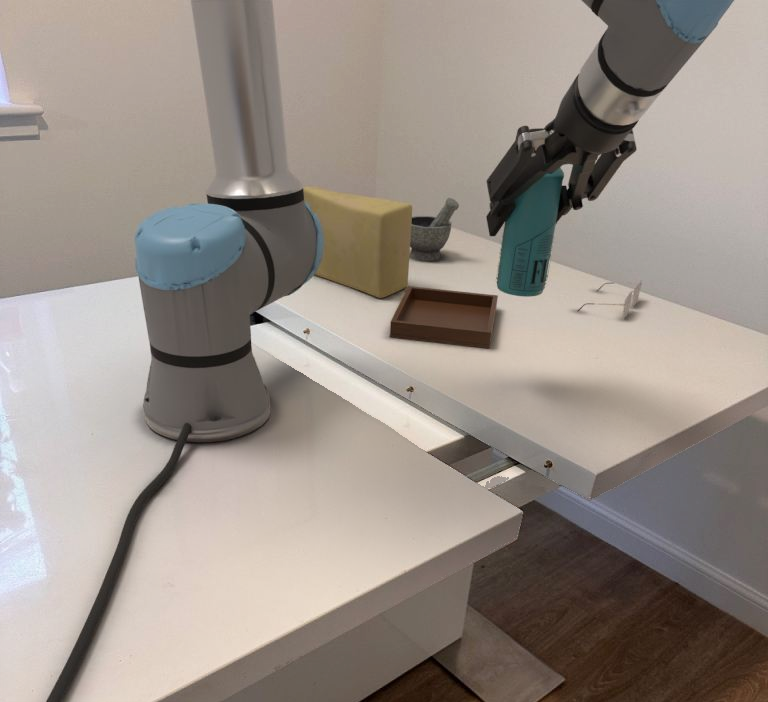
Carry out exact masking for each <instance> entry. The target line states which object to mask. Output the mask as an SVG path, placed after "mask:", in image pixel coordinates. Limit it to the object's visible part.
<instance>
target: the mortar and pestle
mask: <svg viewBox="0 0 768 702" xmlns="http://www.w3.org/2000/svg"><path fill="white" fill-rule="evenodd" d="M459 207H460V205H459V203H458V201H457V200H455V199H454V198H452V197H447V198H446V200H445V203H444V205H443V207H442V208H441V209H440V210H439V212H438V214H437V215H436V216H432V215H415V216H412V223H411V239H410V255H409V258H412V259H414V260H417V261H422V262H433V261H437V260H440V257H441V250H442V249H443V248H444V246H445V245H446V244H447V242H448V240H449V238H450V235H451V230H452V223H453V222H452V221H450V220H451V218H452V217H453V215H454V213H455V211H457V210H458V208H459Z"/></svg>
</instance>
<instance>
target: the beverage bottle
mask: <svg viewBox="0 0 768 702" xmlns="http://www.w3.org/2000/svg"><path fill="white" fill-rule="evenodd" d="M544 128H545V127H544ZM544 128H542V127H541V128H529V131H530V132H536V131H542V130H544ZM535 151H536V150H535ZM564 178H565V172H564V171H563V169H562V168H561V167H560V168H559V169H557V170H556V171H555V172H554V173H553V174H548V173H547V174H546V175H544V176H543V177H542V178H541V179H540V180H538V181H537V182H536V183H535V184H534V185H532V186H531V187H530V188H529V189H528V190H526V191H525V192H524V193H523V194H522V195H520V196H519V197H518V198H517V199H515V200H514V202H515V208H514V209H513V211H512V212H511V214H510V215H509V217H508V218H507V220H506V221H505V223H504V225H503V226H502V228H503V231H502V235H501V236H502V237H501V239H502V240H501V243H500V247H499V251H500V252H499V261H497V262H498V263H497V264H498V267H497V270H496V271H497V275H496V277H495V278H496V279H495V280H496V287H497V289H498V290H499V292H502V293H504V294H507V295H510V296H515V297H523V298H524V297H525V298H526V297H527V298H528V297H530V298H531V297H536V296H540V295H542V294H543V292H544V290H545V288H546V285H547V281H548V277H549V274H548V273H549V272H550V269H549V268H550V265H551V264H550V262H551V260H552V259H551V257H552V249H553V247H554V246H553V243H554V242H555V241H554V238H555V230H556V225H557V224H558V222H559V221H558V220H557V221H558V222H557V223H556V219H557V213H558V207H559V205H560V203H559V200H560V194H561V188H562V186H563V181H564ZM558 214H559V213H558Z"/></svg>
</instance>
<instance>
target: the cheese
mask: <svg viewBox="0 0 768 702" xmlns="http://www.w3.org/2000/svg"><path fill="white" fill-rule="evenodd" d="M303 191H304V201H305V202H307V203H308V204H309V205H310V206H311V210H312V212H313V213H314V214H316V215H317V216H318V218H319V221H320V223H321V226H322V230H323V236H324V251H323V256H322V260H321V263H320V265H319V268H318V270H317V271H316V273H315V274H314V276H318V277H320V278H323V279H326V280H329V281H332V282H335V283H337V284H341V285H344V286H347V287H350V288H352V289H355V290H357V291H361V292H362V293H364V294H368V295H371V296H373V297H376V298H378V299H383V298H386V297H389V296H391V295H393V294H395V293H397V292H399V291H401V290H404V289H405V288H406V287H408V285H409V270H410V269H409V268H410V254H411V247H410V239H411V223H412V217H413V206H412V204H411V203H408V202H401V201H396V200H391V199H384V198H379V197H375V196H374V197H373V196H366V195H359V194H358V195H357V194H351V193H345V192H339V191H334V190H333V191H332V190H328V189H324V188H319V187H315V186H305V187H304V186H303Z"/></svg>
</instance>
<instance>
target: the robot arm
mask: <svg viewBox="0 0 768 702" xmlns="http://www.w3.org/2000/svg"><path fill="white" fill-rule="evenodd" d="M581 1H582V3H583V4H585V6H587V7H588V8H589V9H590V10H591V12H592V13H594V15H595V16H596V17H598V18H599V19H600V20H601V21H602V22H603V23H604V24H605V25H606V26H607V28H606V30H605V31H604V32H603V34H602V36H601V37H600V39H599V40H598V42H597V43H596V45H595V46H594V47H593V50H592V51H591V53H590V54H589V56H588V57H587V59H585V62H584V63H583V65H582V66H581V68H580V69H579V73H577V75H576V76H575V78H574V80H573V81H572V83H571V85H570V86H569V87H568V89H567V91H566V93H565V94H564V96H563V97H562V99H561V101H560V103H559V107H558V110H557V113H556V114H555V115H556V116H555V118H553V119H552V120H551V121H550V122H548V123H547V124H545V126H544V130H542V131H536V132H530V131H529V129H530V127H529V126H528V125H521V126H520V127H518V128H517V130H516V135H515V140H514V142H512V145H511V146H510V147H509V148H508V150H507V151H506V153H505V154H504V155H503V157H502V158H501V160H500V161H499V162H498V164H497V165H496V167H495V168H494V170H493V171H492V172H491V173H490V175H489V176H488V178H487V179H486V185H487V192H488V198H489V201H490V202H489V211H488V213H487V214H486V216H485V217H486V224H487V227H488V228H487V229H488V233H489V234H488V235H489V237H496V236H497V235H498V233H499V231H500V230H501V229H502V228H503V226H504V225H505V221H506V220H507V218H508V217H509V215H510V214H511V212H512V211H513V209H514V208H515V202H514V200H515V199H517V198H518V197H519V196H520V195H522V194H523V193H524V192H525V191H526V190H528V189H529V188H530V187H531V186H532V185H534V184H535V183H536V182H537V181H538V180H540V179H541V178H542V177H543V176H544V175H546V174H547V173H548V174H553V173H554V172H555V171H556V170H557V169H559V168H561V167H562V166H565V165H572V168H571V171H570V176H569V179H568V183H567V185H562V188H561V194H560V200H559V203H560V205H559V207H558V213H559V214H558V213H557V219H556V223H557V224H558V222H559V221H560V219H562V217H563V216H566V215H567V214H569V213H570V211H571V210H573V211H579V210H581V209H582V208H583V207H584V204H583V200H585V199H587V201H589V202H593V201H595V200H597V199H598V198H599V196H600V195H601V194H602V192H603V191H604V190H605V188H606V187H607V185H608V184H609V183H610V181H611V180H612V179H613V177H614V176H615V174H616V173H617V172H618V170H619V168H620V167H621V166H622V164H624V162H625V161H626V160H627V159H628V158H629V157H631V156H632V155H634V153H636V151H637V149H638V148H637V144H636V139H635V135H634V131H633V129H634V128H635V127H636V125H638V122H639V120H640V119H641V118H642V117H643V116H644V115H645V114H646V113H647V112H648V110H649V109H650V108H651V106H652V105H653V104H654V103H655V101H656V100H657V99H658V97H660V95H661V94H662V92H663V91H665V89H666V88H667V87H668V85H669V84H670V83H671V81H673V79H674V78H675V77H676V76H677V74H678V73H679V72H680V71H681V70H682V68H683V67H684V66H685V65H686V64H687V63H688V61H689V60H690V59H691V58H692V56H693V55H695V53H696V51H697V50H698V49H699V48H700V47H701V46H702V44H704V42H705V41H706V40H707V39H708V38H709V36H710V35H711V34H712V33H713V31H714V30H715V29H716V28H717V27H718V25H719V22H720V21H721V19H722V18H723V17H724V15H725V14H726V12H727V11H728V9H730V8H731V6H732V4H733V3H734V1H735V0H581ZM190 7H191V11H192V12H191V13H192V18H193V25H194V32H195V40H196V45H197V52H198V53H197V54H198V59H199V66H200V67H199V68H200V72H201V73H200V74H201V79H202V86H203V93H204V94H203V95H204V101H205V107H206V113H207V121H208V126H209V127H208V128H209V134H210V140H211V147H212V154H213V160H214V168H215V176H214V178H213V179H212V180H211V182H210V183H209V185H208V186H207V188H205V194H206V200H207V203H188V204H185V205H183V206H175V205H174V206H171V207H167V208H165V209H162V210H161V209H160V210H158V211H156V212H154V213H152V214H150V215H148V216H147V217H146V218H145V219H143V220H142V221H141V223H140V224H139V225H138V227H137V228H136V231H135V234H134V246H135V270H136V274H137V276H138V283H139V289H140V294H141V301H142V306H143V312H144V318H145V324H146V331H147V337H148V341H149V350H150V356H151V357H150V358H151V361H150V365H149V370H148V375H147V381H146V388H145V392H144V397H143V404H142V408H143V413H144V419H145V422H146V424H147V426H148V427H149V428H150V429H151V430H152V431H154V432H155V433H157V434H158V435H161V436H163V437H165V438H169V439H171V440H176V442H175V445H174V447H173V449H172V452H171V455H170V457H169V459H168V461H167V462H166V464H165V466H164V467H163V468H162V470H161V471H160V472H159V473H158V474H157V475H156V477H155V478H154V479H153V480H152V481H150V483H149V484H148V485H147V486H146V487H145V488H144V489H143V490H142V491H141V492H140V493H139V495H138V496H137V497H136V499H135V500H134V502H133V504H132V505H131V508H130V509H129V511H128V513H127V516H126V518H125V521H124V524H123V527H122V530H121V533H120V536H119V539H118V541H117V542H118V543H117V546H116V548H115V550H114V553H113V556H112V558H111V561H110V563H109V565H108V568H107V571H106V573H105V576H104V578H103V580H102V583H101V586H100V588H99V590H98V593H97V595H96V597H95V599H94V602H93V604H92V605H91V606H92V607H91V609H90V611H89V612H88V613H89V614H88V616H87V618H86V620H85V622H84V624H83V627H82V629H81V631H80V633H79V636H78V637H77V639H76V642H75V643H74V646H73V648H72V649H71V652H70V654H69V656H68V658H67V661H66V663H65V664H64V666H63V667H62V670H61V672H60V674H59V676H58V678H57V680H56V681H55V683H54V686H53V688H52V689H51V691H50V693H49V695H48V696H47V699H46V701H45V702H62V700H63V699H64V697H65V694H66V693H67V690H69V687H70V685H71V683H72V681H73V678H74V677H75V675H76V673H77V670H78V668H79V666H80V664H81V663H82V660H83V658H84V655H85V653H86V651H87V649H88V647H89V644H90V642H91V640H92V638H93V635H94V634H95V631H96V628H97V626H98V624H99V622H100V619H101V617H102V615H103V613H104V610H105V607H106V605H107V603H108V599H109V598H110V595H111V593H112V590H113V588H114V585H115V583H116V579H117V577H118V574H119V571H120V569H121V566H122V565H123V564H122V563H123V561H124V558H125V556H126V553H127V551H128V548H129V544H130V541H131V538H132V535H133V531H134V528H135V524H136V522H137V520H138V517H139V515H140V513H141V511H142V509H143V508H144V506H145V505H146V503H147V502H148V500H149V499H150V498H151V497H152V496H153V495H154V493H155V492H156V491H158V489H159V488H160V487H162V485H163V484H164V483H165V482H166V481H167V480H168V478H169V477H170V476H171V474H172V473H173V471H174V470H175V468H176V467H177V464H178V462H179V460H180V457H181V455H182V453H183V450H184V448H185V445H186V442H188V443H214V442H222V441H228V440H232V439H236V438H240V437H242V436H245V435H247V434H250V433H252V432H254V431H256V430H257V429H259V428H260V427H262V426H263V425H264V424H265V423H266V422H267V421H268V419H269V418H270V415H271V397H270V394H269V390H268V388H267V386H266V384H265V382H264V380H263V377H262V375H261V372H260V368H259V366H258V364H257V362H256V359H255V356H254V353H253V347H252V332H251V331H252V330H251V329H252V328H251V315H252V314H253V313H255V312H257V311H259V310H261V309H263V308H265V307H267V306H269V305H271V304H272V303H274V302H276V301H278V300H280V299H283V298H284V297H287V296H290V295H292V294H294V293H296V292H297V291H299V290H300V289H301V288H302V287H303V286H304V285H305V284H307V283H308V282H309V281H310V280H311V279H312V278H313V277H314V276H315V275H314V274H315V273H316V271H317V270H318V268H319V265H320V263H321V260H322V256H323V251H324V236H323V230H322V226H321V223H320V221H319V218H318V216H317V215H316V214H314V213H313V212H312V210H311V206H310V205H309V204H308V203H307V202H305V201H304V191H303V188H304V184H303V182H302V181H301V180H300V179H299V178H298V177H297V176H296V175H294V173H293V172H291V169H290V167H289V160H288V159H289V158H288V147H287V138H286V128H285V127H286V126H285V118H284V117H285V116H284V108H283V107H284V105H283V96H282V85H281V84H282V83H281V75H280V66H279V65H280V64H279V54H278V53H279V52H278V42H277V33H276V32H277V31H276V21H275V14H274V3H273V0H190ZM535 150H536V151H535ZM567 186H568V187H567ZM557 220H558V221H557Z"/></svg>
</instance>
